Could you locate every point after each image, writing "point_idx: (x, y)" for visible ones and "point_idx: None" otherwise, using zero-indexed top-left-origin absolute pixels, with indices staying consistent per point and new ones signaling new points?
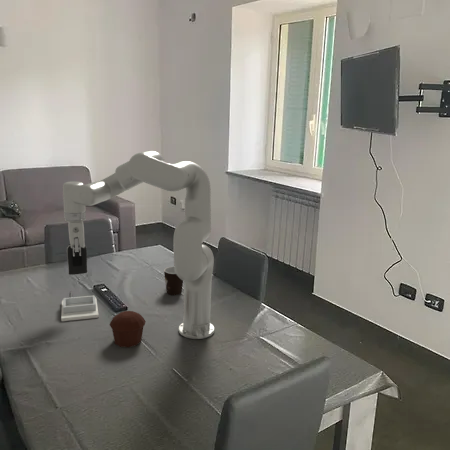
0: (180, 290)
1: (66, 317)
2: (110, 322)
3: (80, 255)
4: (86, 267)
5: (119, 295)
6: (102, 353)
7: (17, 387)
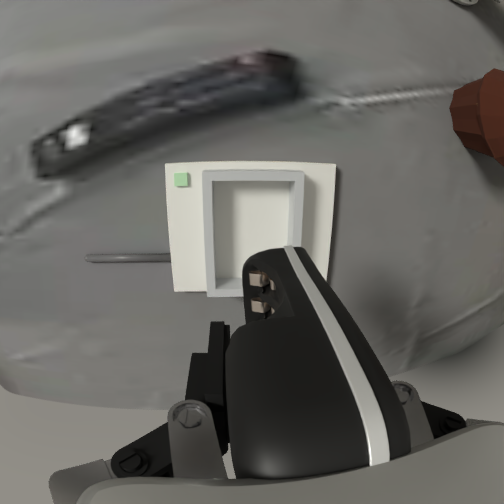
0: None
1: (325, 272)
2: (500, 162)
3: (409, 389)
4: (316, 267)
5: (143, 73)
6: (495, 188)
7: (499, 322)
